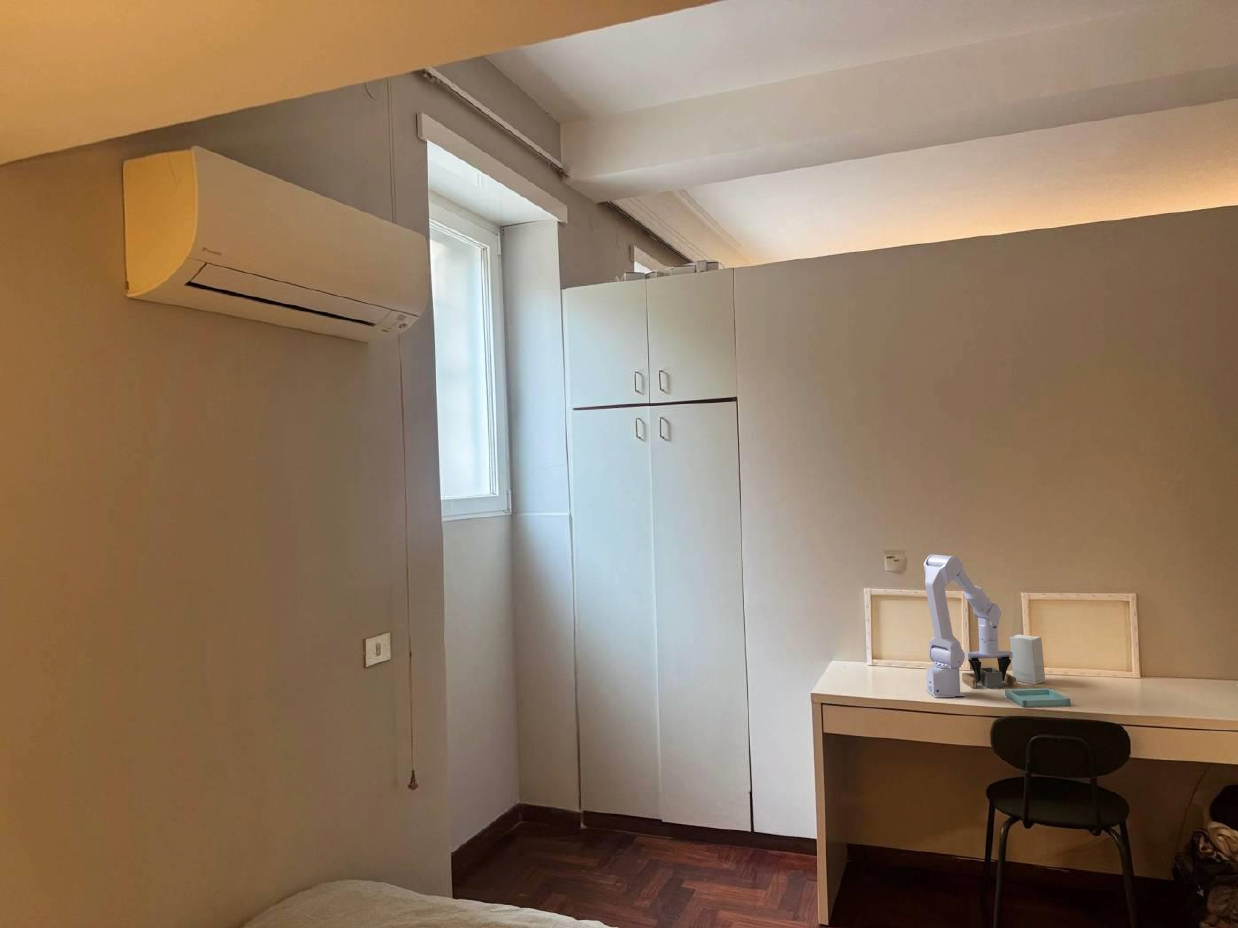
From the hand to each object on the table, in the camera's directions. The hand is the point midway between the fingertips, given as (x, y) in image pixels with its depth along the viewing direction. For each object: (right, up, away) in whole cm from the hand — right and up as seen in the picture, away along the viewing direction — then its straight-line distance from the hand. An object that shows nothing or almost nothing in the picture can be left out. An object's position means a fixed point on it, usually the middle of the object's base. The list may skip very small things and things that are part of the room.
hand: (990, 680), depth 272 cm
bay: (0, -2, +1) cm, 2 cm away
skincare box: (+14, -1, +3) cm, 15 cm away
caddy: (0, -2, 0) cm, 2 cm away
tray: (+6, -1, -19) cm, 20 cm away
